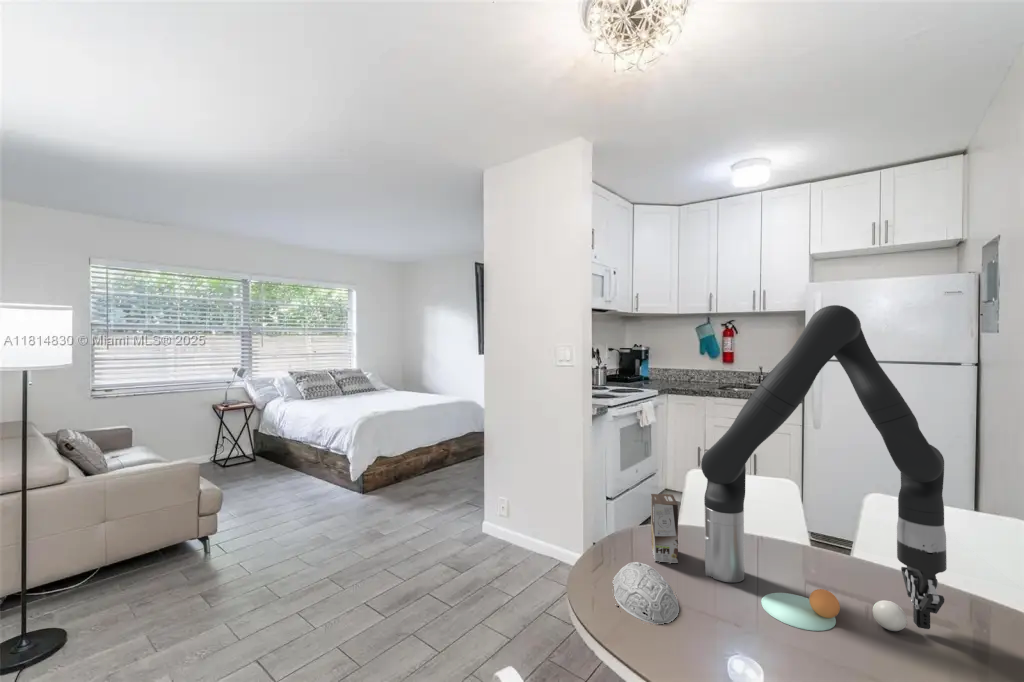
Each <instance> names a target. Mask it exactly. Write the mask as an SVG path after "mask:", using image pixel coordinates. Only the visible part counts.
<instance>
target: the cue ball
mask: <svg viewBox="0 0 1024 682" xmlns="http://www.w3.org/2000/svg"><path fill="white" fill-rule="evenodd" d="M872 615H873V618H874V620H875V621H876V622H877V623H878V625H879V626H881V627H882V628H884V629H886V630H888V631H891V632H898V631H902V630H903V629H905V627H906V626H907V622H908V619H907V614H906V612H905V611H904V610H903V609H902V608H901V606H900V605H898V604H897V603H895V602H893V601H890V600H878V601H876V602H875V604H874V605H873V607H872Z"/></svg>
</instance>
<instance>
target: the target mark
mask: <svg viewBox="0 0 1024 682" xmlns="http://www.w3.org/2000/svg"><path fill="white" fill-rule="evenodd" d="M760 603H761V606H762V608H763V610H764V611H765V612H766V613H767V614H768V615H770V616H771V617H772V618H774V619H776V620H777V621H779V622H781V623H783V624H785V625H788V626H791V627H793V628H797V629H800V630H804V631H805V630H806V631H811V632H812V631H813V632H823V631H829V630H831V629H833V628H834V627H835V625H837V624H836V623H837V621H836V616H835V617H833V618H825V617H822V616H820V615H818V614H817V613H816V612H815V611H814V610H813V609H812V607H811V605H810V601H809V597H808V598H807V597H806V596H801V595H797V594H793V593H787V592H773V593H772V592H771V593H768V594H766V595H764V596H763V597H762V598H761V602H760Z"/></svg>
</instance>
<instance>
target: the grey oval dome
mask: <svg viewBox="0 0 1024 682" xmlns="http://www.w3.org/2000/svg"><path fill="white" fill-rule="evenodd" d="M621 567H622V568H620V570H619V571H618V572H617V573H616V574H615V576H614V577H613V579H614V580H613V579H612V583H613V584H614V585H613V586H614V596H615V599H616V601H617V603H618V604H619V605H620V607H621V608H622V609H624V610H625V611H626V612H627V613H629V614H630V615H632V616H633V617H635V618H637V619H640V620H641V621H645V622H649V623H653V624H657V623H658V624H663V623H668V624H670V623H669V622H671V621H672V622H673V620H674V619H675V618H676V617H677V618H678V616H679V614H680V606H679V602H678V600H677V599H676V597H675V595H674V593H675V592H674V590H673V588H672V586H671V585H670V584H669V582H668V581H667V580H666V578H664V577H663V576H662V574H660V573H659V571H658V570H656V569H655V568H654V567H652V566H651V565H648V564H646V563H642V562H639V561H632V562H629V563H627V564H625V565H624V566H621ZM673 592H674V593H673ZM614 596H613V597H614ZM644 613H645V614H644ZM678 613H679V614H678ZM677 618H676V619H677ZM676 619H675V620H676ZM675 620H674V621H675ZM672 622H671V623H672ZM653 624H652V625H653ZM663 625H664V624H663Z"/></svg>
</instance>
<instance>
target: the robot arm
mask: <svg viewBox="0 0 1024 682" xmlns="http://www.w3.org/2000/svg"><path fill="white" fill-rule="evenodd" d="M833 357H835V358H836V360H837V361H838V362H839V364H840V365H841V366H842V368H843V370H844V372H845V374H846V375H847V376H848V379H849V381H850V383H851V385H852V388H853V389H854V392H855V393H856V395H857V397H858V400H859V401H860V403H861V405H862V407H863V408H864V410H865V412H866V413H867V415H868V417H869V418H870V420H871V423H873V425H874V426H875V428H876V430H877V431H878V432H879V433H880V435H881V437H882V439H883V442H884V444H885V447H886V449H887V451H888V453H889V455H890V457H891V460H892V461H893V464H894V465H895V466H896V467H897V469H898V470H899V472H900V489H899V493H898V499H897V506H898V507H897V512H898V514H897V515H898V518H897V523H896V524H897V525H896V558H897V560H898V561H899V562H900V563H901V564H903V565H904V566H901V568H900V571H901V573H902V579H903V582H904V585H905V590H906V594H907V597H908V598H910V599H911V600H910V603H911V605H912V607H913V608H912V609H913V623H914V624H915V625H916V627H918V629H924V630H930V629H931V614H938V612H939V611H940V609H941V608H942V606H943V605H944V603H945V598H944V596H943V595H940V594H939V593H938V592H937V589H938V588H939V582H938V579H937V576H936V575H937V574H939V573H944V572H946V571H947V535H946V529H945V528H946V527H945V507H944V506H945V505H944V497H943V490H944V479H945V478H944V476H945V458H944V455H943V454H942V452H941V451H940V450H939V449H938V448H937V447H935V446H934V445H932V444H930V443H929V442H928V440H927V438H926V437H925V436H924V434H923V432H922V431H921V429H920V427H919V426H920V425H919V422H918V420H917V417H916V416H915V414H914V413H913V411H912V410H911V408H910V406H909V405H908V403H907V401H906V400H905V399H904V397H903V396H902V394H901V393H900V391H899V390H898V388H897V387H896V386H895V384H894V383H893V382H892V380H891V379H890V378H889V377H888V375H887V374H886V372H885V371H884V369H883V368H882V366H881V365H880V364H879V362H878V361H877V358H876V357H875V356H874V353H873V352H872V349H870V346H869V344H868V342H867V340H866V338H865V334H864V332H863V328H862V324H861V320H860V318H859V317H858V315H857V314H856V313H855V312H854V311H853V310H852V309H850V308H849V307H846V306H843V305H839V304H836V305H835V304H834V305H827V306H824V307H822V308H820V309H818V310H817V311H816V312H814V314H813V315H812V316H811V317H810V319H809V321H808V322H807V324H806V326H805V327H804V329H803V330H802V332H801V334H800V335H799V337H798V338H797V340H796V342H795V343H794V344H793V346H792V347H791V349H790V350H789V351H788V353H787V354H786V355H785V356H784V357H783V358H782V359H781V360H780V361H779V362H778V363H777V364H776V366H774V367H773V369H772V370H771V371H770V372H769V373H768V374H767V376H766V377H765V378H764V379H763V380H762V381H761V382H760V383H759V385H758V386H757V388H756V389H755V390H754V391H753V392H752V393H751V395H750V396H749V398H748V399H747V400H746V402H745V404H744V405H743V407H742V408H741V410H740V411H739V412H738V415H736V418H735V419H734V421H733V423H732V424H731V426H730V427H729V429H728V430H727V431H726V432H725V433H724V434H723V435H722V436H721V438H719V439H718V440H717V441H716V443H714V444H713V445H712V446H711V447H710V448H709V449H708V450H707V451H705V453H704V454H703V455H702V458H701V463H700V466H701V471H702V473H703V475H704V477H705V478H706V479H707V480H706V481H707V482H706V489H705V493H704V574H705V576H706V577H710V576H711V577H710V578H712V577H713V578H712V579H714V578H715V580H718V581H721V582H725V583H730V584H731V583H740V582H742V581H744V579H745V572H746V570H745V525H744V524H745V513H744V512H745V508H744V506H745V498H746V474H747V473H746V463H747V462H748V460H749V459H750V458H751V456H752V454H753V453H754V452H755V451H756V449H757V448H759V446H761V444H763V443H764V441H766V440H767V439H768V438H769V437H770V436H771V435H773V434H774V433H775V431H777V430H778V429H779V428H780V427H781V426H782V425H783V424H784V423H785V422H786V421H787V420H788V419H789V417H790V416H791V415H792V414H793V413H794V412H795V410H796V409H797V408H798V407H799V406H800V404H801V403H802V402H803V400H804V399H805V397H806V396H807V394H808V392H809V391H810V389H811V387H812V386H813V385H814V381H815V380H816V378H817V376H818V375H819V373H820V372H821V371H822V369H823V368H824V367H825V365H827V363H829V361H830V360H831V359H832V358H833Z"/></svg>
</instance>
